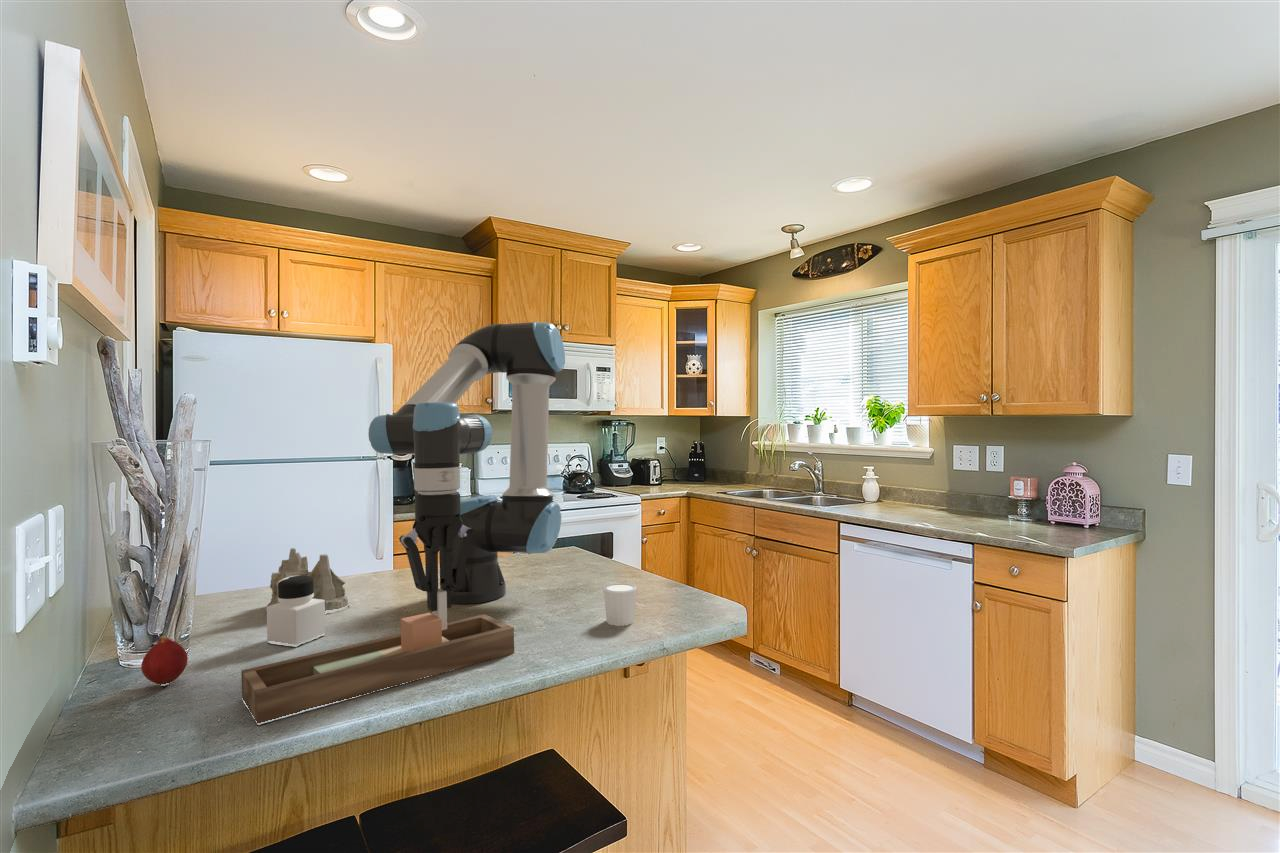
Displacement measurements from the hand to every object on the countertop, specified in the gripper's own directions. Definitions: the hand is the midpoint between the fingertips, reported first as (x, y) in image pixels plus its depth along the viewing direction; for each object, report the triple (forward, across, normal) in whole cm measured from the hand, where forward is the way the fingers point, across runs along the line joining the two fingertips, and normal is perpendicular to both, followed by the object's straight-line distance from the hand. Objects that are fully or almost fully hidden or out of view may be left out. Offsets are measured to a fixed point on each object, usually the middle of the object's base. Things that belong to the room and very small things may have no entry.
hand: (439, 628), depth 111 cm
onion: (+6, -36, +20) cm, 42 cm away
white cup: (+6, +36, -5) cm, 37 cm away
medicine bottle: (+6, -15, +29) cm, 34 cm away
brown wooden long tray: (+6, -9, 0) cm, 10 cm away
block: (+3, -3, 0) cm, 4 cm away
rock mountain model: (+6, -8, +50) cm, 51 cm away
